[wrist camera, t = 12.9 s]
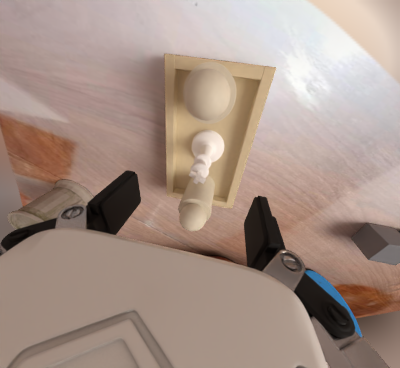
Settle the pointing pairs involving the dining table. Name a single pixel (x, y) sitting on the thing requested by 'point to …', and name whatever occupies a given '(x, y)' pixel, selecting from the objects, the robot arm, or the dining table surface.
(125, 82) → the dining table surface
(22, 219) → the mug
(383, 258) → the slate blocks
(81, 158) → the dining table surface
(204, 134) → the chess piece
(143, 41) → the dining table surface
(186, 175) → the pawn tray
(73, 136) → the dining table surface
